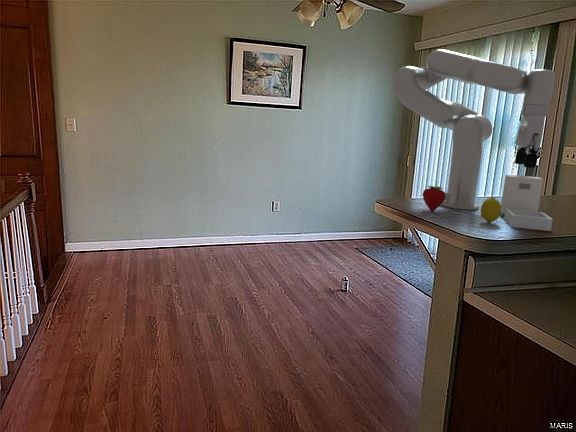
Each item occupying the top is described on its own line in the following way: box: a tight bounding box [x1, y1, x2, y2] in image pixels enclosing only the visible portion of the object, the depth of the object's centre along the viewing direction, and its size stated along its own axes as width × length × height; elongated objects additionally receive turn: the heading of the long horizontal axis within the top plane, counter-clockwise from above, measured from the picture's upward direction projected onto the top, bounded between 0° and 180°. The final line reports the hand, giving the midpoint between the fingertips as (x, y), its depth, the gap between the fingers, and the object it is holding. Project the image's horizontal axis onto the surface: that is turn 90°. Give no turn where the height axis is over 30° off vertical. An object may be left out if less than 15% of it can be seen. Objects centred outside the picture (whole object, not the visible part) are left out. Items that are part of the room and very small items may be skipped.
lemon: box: [480, 196, 501, 224], centre depth 138 cm, size 6×6×8 cm
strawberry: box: [422, 180, 446, 212], centre depth 151 cm, size 6×8×10 cm
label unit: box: [499, 174, 544, 219], centre depth 149 cm, size 11×7×13 cm, turn 76°
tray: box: [503, 209, 554, 232], centre depth 139 cm, size 11×11×4 cm
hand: (524, 165), depth 148 cm, fingers open, 9 cm apart
